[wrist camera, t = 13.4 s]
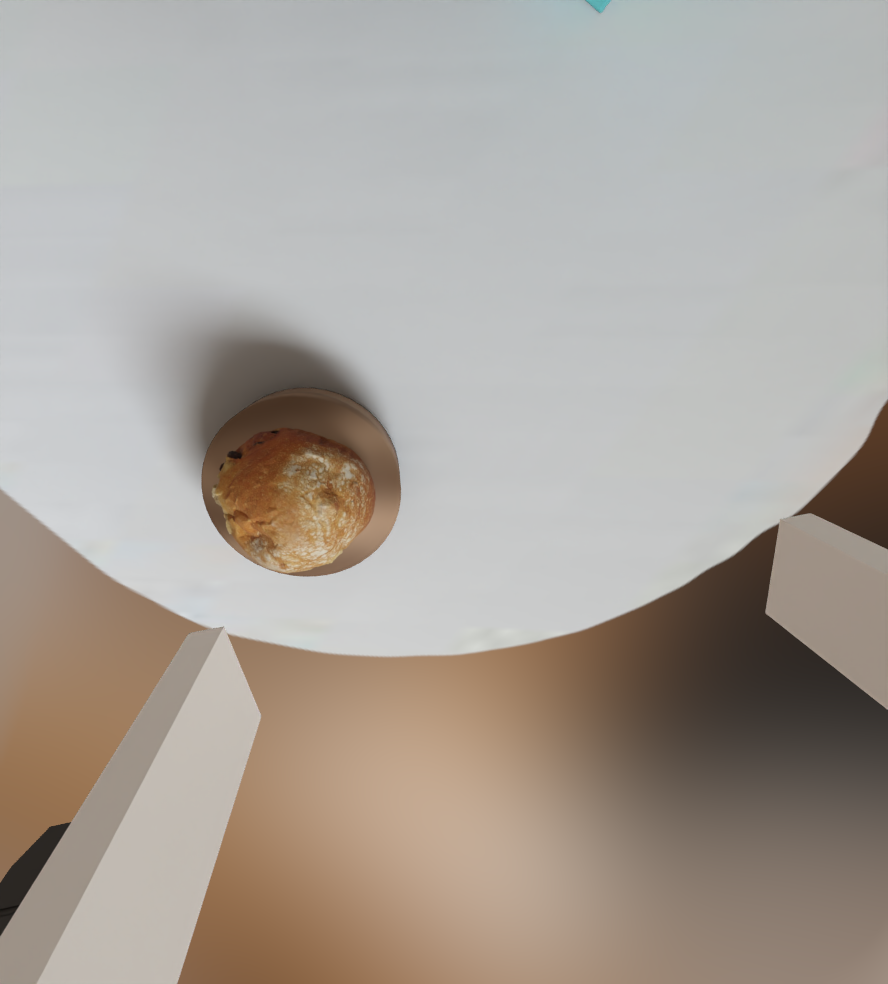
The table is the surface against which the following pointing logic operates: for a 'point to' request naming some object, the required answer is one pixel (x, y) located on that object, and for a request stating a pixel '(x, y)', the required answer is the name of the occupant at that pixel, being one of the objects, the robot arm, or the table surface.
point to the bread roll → (294, 498)
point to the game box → (599, 4)
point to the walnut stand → (333, 422)
